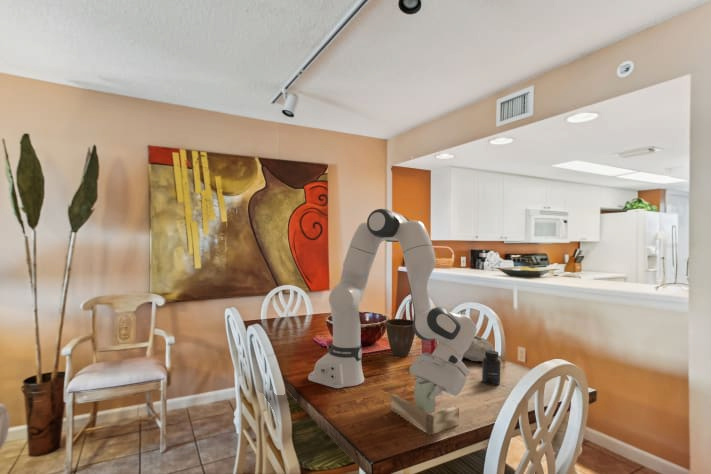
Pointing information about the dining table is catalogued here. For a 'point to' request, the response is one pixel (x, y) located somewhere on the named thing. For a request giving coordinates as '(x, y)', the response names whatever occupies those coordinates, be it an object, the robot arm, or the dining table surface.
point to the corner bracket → (425, 416)
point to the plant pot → (400, 336)
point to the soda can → (429, 346)
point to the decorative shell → (478, 349)
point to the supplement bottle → (491, 368)
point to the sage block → (424, 395)
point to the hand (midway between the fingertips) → (422, 395)
